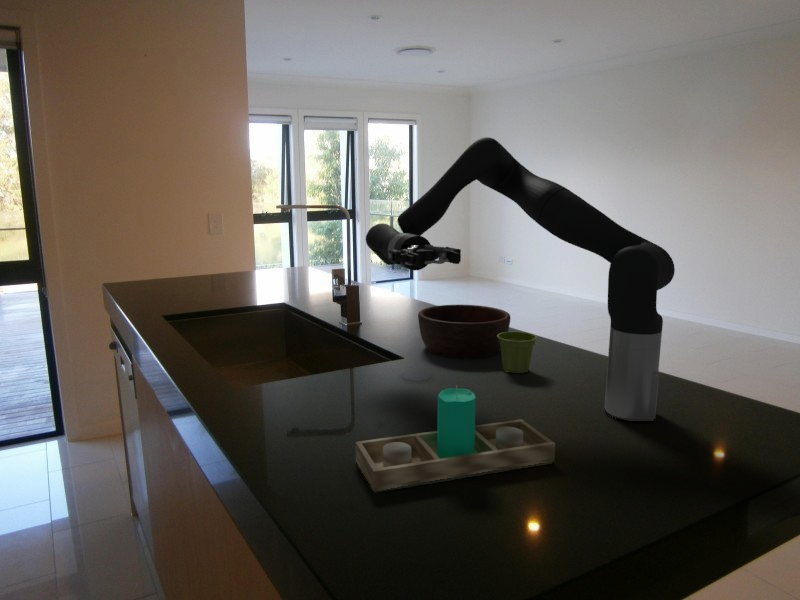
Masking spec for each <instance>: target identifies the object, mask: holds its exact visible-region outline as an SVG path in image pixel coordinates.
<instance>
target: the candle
mask: <svg viewBox="0 0 800 600" xmlns="http://www.w3.org/2000/svg"><path fill="white" fill-rule="evenodd" d="M455 387H456V388H452V387H451V388H450V387H449V388H446V389H443V390H440V392H439V394H438V395H437V428H436V431H437V456H438V457H439V458H440V459H442V458H448V457H455V456H461V455H468V454H474V441H475V426H476V405H477V403H476V402H477V401H476V400H477V397H476V395H475V393H474V392H472V390H470V389H469V388H458V385H456V386H455Z"/></svg>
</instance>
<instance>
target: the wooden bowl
mask: <svg viewBox="0 0 800 600" xmlns="http://www.w3.org/2000/svg"><path fill="white" fill-rule="evenodd" d="M510 314H511V313H509V312H508V311H506V310H503V309H500V308H497V307H491V306H487V305H476V304H443V305H435V306H434V305H433V306H430V307H426V308H422V309H421V310H420V311H418V315H417V318H418V319H417V320H418V327H419V332H420V336H421V337H420V338H421V340H422V342H423V343H424V346H425V348H426V349H427V350H428V351H429V352H431V353H432V354H434V355H437V356H440V357H445V358H452V359H453V358H454V359H465V358H470V359H482V358H481V357H483V358H488V357H491V355H492V356H495V355H496V354H498V353H499V352H501V345H500V343H499V339H498V338H497V335H498V334H499V333H503V332H509V330H510V323H511V315H510ZM494 354H495V355H494ZM487 356H488V357H487Z"/></svg>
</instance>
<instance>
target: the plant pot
mask: <svg viewBox="0 0 800 600" xmlns="http://www.w3.org/2000/svg"><path fill="white" fill-rule="evenodd" d="M497 338H498V339H499V343H500V345H501V350H500V352H501V360H502V369H504V370H505V371H508V372H509V373H513V374H514V373H522V374H524V373H523V372H526V373H527V372H529V371H528V370H530V365H531V359H532V354H533V349H534V345H535V342H536V340H537V339H538V336H537V335H536V334H533V333H529V332H526V331H525V332H524V331H508V332H503V333H499V334H498V335H497ZM504 370H503V371H504ZM505 371H504V372H505ZM508 372H507V373H508Z"/></svg>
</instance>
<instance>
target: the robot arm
mask: <svg viewBox="0 0 800 600" xmlns="http://www.w3.org/2000/svg"><path fill="white" fill-rule="evenodd" d="M475 181H478V182H479V183H480V184H482V185H483V186H486V187H487V188H489V189H491V190H493V191H495V192H497V193H499V194H501V195H503V196H505V197H506V198H508V199H510V200H511V201H513V202H514V203H516V205H518V207H519V208H521V210H522V211H524V213H526V215H527V216H528V217H529V218H531V220H533V221H534V222H535V223H536V224H538V225H539V226H540V227H541V228H543V229H544V230H546V231H547V232H548V233H550V234H551V235H553V236H555V237H556V238H558V239H559V240H561V241H564V242H566V243H568V244H571V245H572V246H575V247H578V248H580V249H583V250H585V251H587V252H588V251H589V252H590V253H593V254H595V255H598V256H599V257H601V258H603V259H604V260H606V261H607V262H608V263H610V264H609V269H608V276H607V277H608V278H607V280H608V281H607V312H608V316H609V318H610V329H609V340H608V342H609V343H608V352H607V353H608V354H607V367H606V368H607V370H606V384H605V397H604V408H605V410H606V411H607V412H608V413H610V414H612V415H614V416H617V417H621V418H628V419H647V418H649V419H655V420H656V413H657V405H658V404H657V403H658V393H659V381H660V380H659V379H660V373H659V370H660V369H659V368H660V359H661V358H660V357H661V347H662V335H663V326H664V321H663V316H662V315H661V314H660V313H659V312H658V310H657V299H658V298H657V295H658V291H659V290H661V289H663V288H665V287H666V286H668V285H669V284H670V283H671V282H672V281H673V278H674V275H675V263H674V260H673V258H672V257H671V255H670V254H669V252H668V251H667V250H666V249H664V248H663V247H662V246H660V245H658V244H656V243H654V242H653V241H650V240H648V239H646V238H644V237H642V236H640V235H638V234H637V233H634V232H632V231H631V230H628V229H626V228H625V227H624V226H621V225H620V224H619V223H617V222H616V221H614V220H613V219H612V218H610V217H609V216H608V215H606V214H605V213H603V212H602V211H600V210H599V209H597V208H596V207H594V206H593V205H592V204H590V203H588V202H587V201H586V200H585V199H583V198H582V197H581V196H579V195H578V194H575V193H574V192H572V191H571V189H568V188H567V187H565V186H563V185H561V184H560V183H558V182H555V181H553V180H550V179H546V178H543V177H540V176H538V175H536V174H534V173H533V172H532V171H530V170H529V169H527V167H525V166H524V165H523V164H521V163H520V162H519V161H518V160H517V159H516V158H515V157H514V156H513V155H512V154H511V153H510V152H509V151H508V150H507V149H506V148H505V147H504V146H503V145H502V144H501V143H500V141H498V140H496V139H495V138H492V137H482V138H479V139H477V140H475V141H474V142H473V143H471V145H469V146H468V147H467V148H466V149H465V150H464V151H463V153H461V155H460V156H459V157H458V158H457V159H456V161H454V162H453V164H452V165H451V166H450V167H449V168H448V169H447V170H446V172H444V174H442V176H441V177H440V178H439V179H438V180H437V182H435V183H434V185H433V186H431V188H430V189H429V190H428V191H426V192H425V193H424V194H423V195H422V196H421V197H420V198H419V199H417V200H416V201H415V202H413V203H412V204H411V205H410V206H409V207H408V208H406V209H405V210H404V211H402V213H400V214H399V215H398V217H397V220H396V221H397V225H398V227H399V229H400V230H401V232H400V231H399V230H397V229H395V227H392V226H391V225H389V224H387V223H378V224H375V225H373V226H371V227H370V229H369V230H368V231H367V233H366V235H365V243H366V246H367V247H368V248H369V249H370V250H371V251H372V252H373V253H374V254H375V255H376V256H377V257H378V258H379V259H380V260H381V261H382V262H383V263H384V264H385V265H389V266H391V265H392V266H394V265H397V266H399V267H402V268H404V269H407V270H410V271H420V270H422V269H425V268H426V267H427V266H428V265H432V264H434V265H435V264H437V265H441V264H445V263H450V264H454V265H459V264H460V263H461V262H462V261H461V259H462V257H461V256H462V255H461V252H462V249H460V248H454V247H449V246H435V245H433V244H431V242H430V241H429V240H428V239H427V238H426V237H424V236H423V235H424V233H426V232H427V231H428V230H429V229H431V228H432V227H434V226H435V225H436V224H437V223H438V222H439V221H440V220H441V219H442V218H443V217H444V215H445V214H446V213H447V211H448V210H449V207H450V205H451V204H452V202H453V201H454V200H455V198H456V196H458V194H459V193H460V192H461V191H462V190H463V189H465V188H466V187H467V186H468V185H470V184H471V183H474V182H475Z"/></svg>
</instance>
